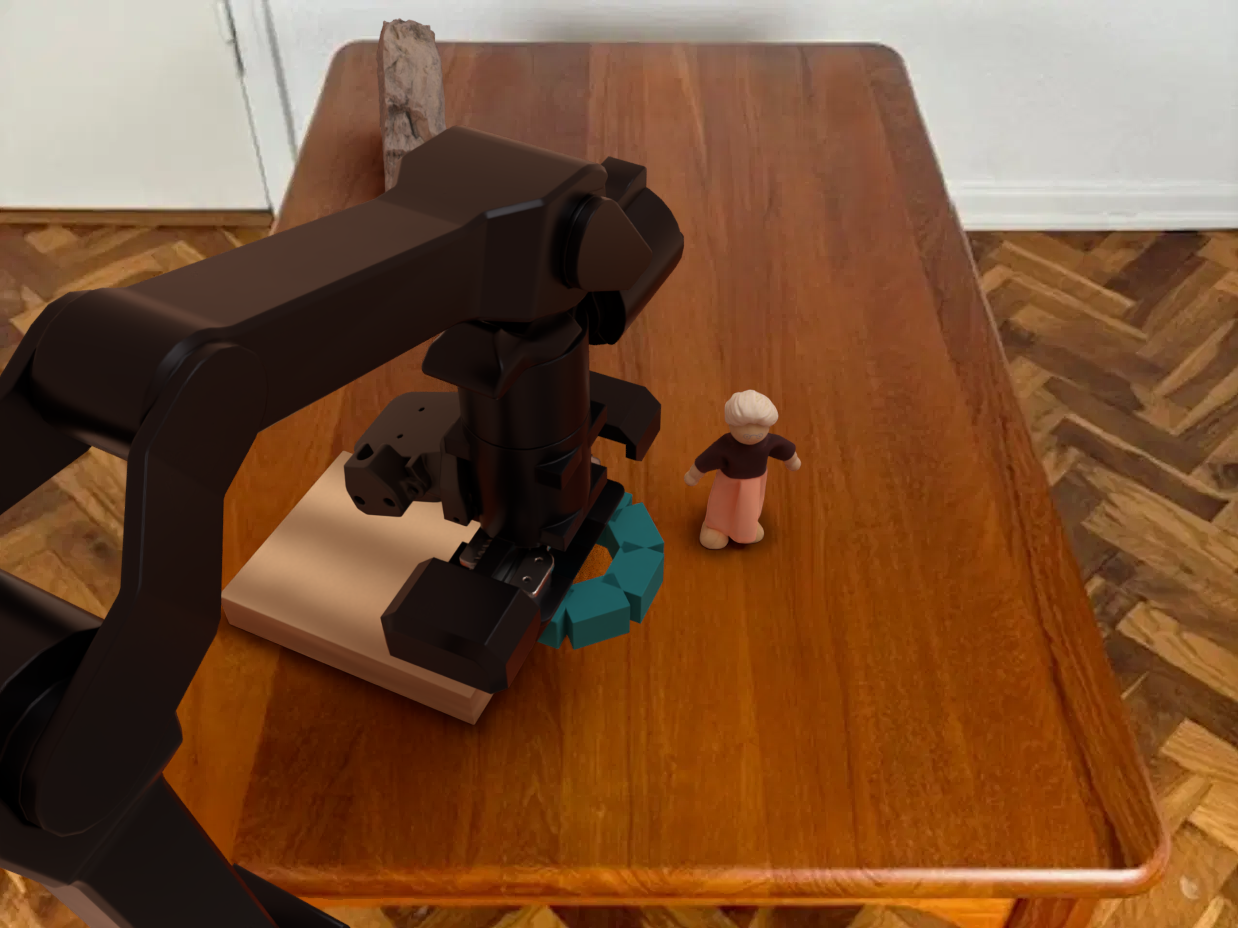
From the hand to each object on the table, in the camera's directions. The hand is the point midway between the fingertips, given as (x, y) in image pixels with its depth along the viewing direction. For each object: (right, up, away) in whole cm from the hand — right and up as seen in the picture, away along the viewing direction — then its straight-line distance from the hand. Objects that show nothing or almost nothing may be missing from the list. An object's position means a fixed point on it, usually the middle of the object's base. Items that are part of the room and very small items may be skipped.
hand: (540, 617), depth 64 cm
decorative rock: (-15, +35, +49) cm, 61 cm away
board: (-10, 0, +15) cm, 18 cm away
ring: (+2, +2, +3) cm, 4 cm away
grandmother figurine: (+12, +3, +19) cm, 23 cm away
